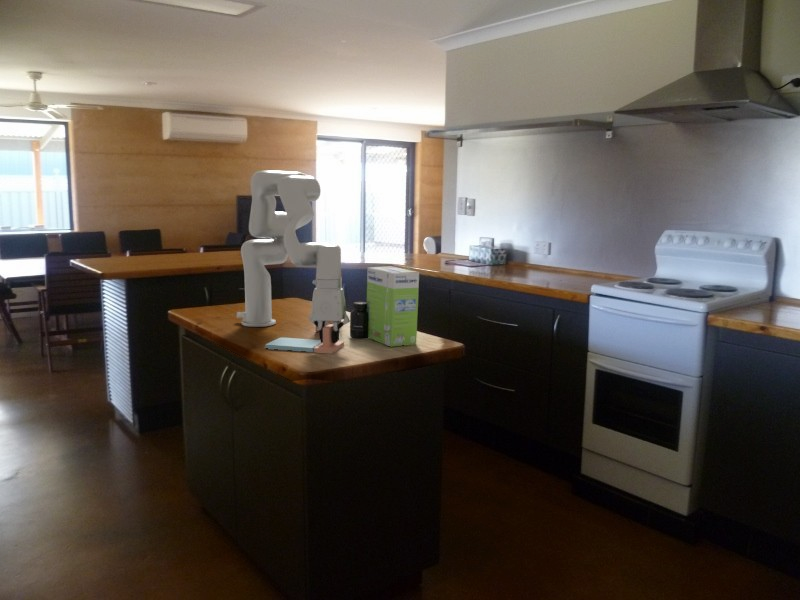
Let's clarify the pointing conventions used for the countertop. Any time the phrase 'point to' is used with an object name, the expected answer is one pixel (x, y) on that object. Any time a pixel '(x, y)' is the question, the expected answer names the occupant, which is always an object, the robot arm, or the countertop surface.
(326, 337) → the stub
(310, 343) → the light blue flat slab
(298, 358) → the countertop surface
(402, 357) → the countertop surface
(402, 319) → the toothbrush box
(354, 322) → the supplement bottle
